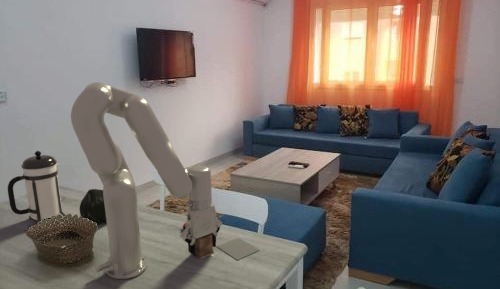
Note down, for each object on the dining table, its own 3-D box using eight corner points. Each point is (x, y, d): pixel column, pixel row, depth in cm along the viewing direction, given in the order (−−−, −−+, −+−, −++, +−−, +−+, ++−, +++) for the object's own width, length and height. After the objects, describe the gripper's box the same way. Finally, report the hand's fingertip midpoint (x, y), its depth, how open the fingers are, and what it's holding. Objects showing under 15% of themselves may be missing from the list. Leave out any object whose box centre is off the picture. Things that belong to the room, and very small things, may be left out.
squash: (128, 201, 162) (102, 177, 159) (115, 216, 148) (87, 190, 145) (106, 220, 165) (81, 197, 162) (92, 237, 150) (64, 212, 147)
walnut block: (200, 257, 125) (199, 239, 124) (192, 252, 129) (192, 234, 127) (212, 252, 128) (212, 234, 127) (204, 247, 132) (204, 229, 130)
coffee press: (38, 211, 165) (28, 146, 158) (73, 211, 165) (64, 146, 158) (12, 228, 149) (0, 157, 142) (51, 229, 148) (40, 157, 141)
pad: (237, 260, 124) (237, 259, 123) (216, 247, 132) (216, 246, 132) (259, 250, 130) (259, 249, 130) (238, 238, 139) (238, 237, 139)
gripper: (183, 213, 116) (186, 262, 120) (227, 199, 127) (229, 245, 131) (172, 206, 122) (175, 253, 126) (215, 193, 133) (216, 237, 137)
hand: (202, 249), depth 128 cm, fingers open, 7 cm apart
